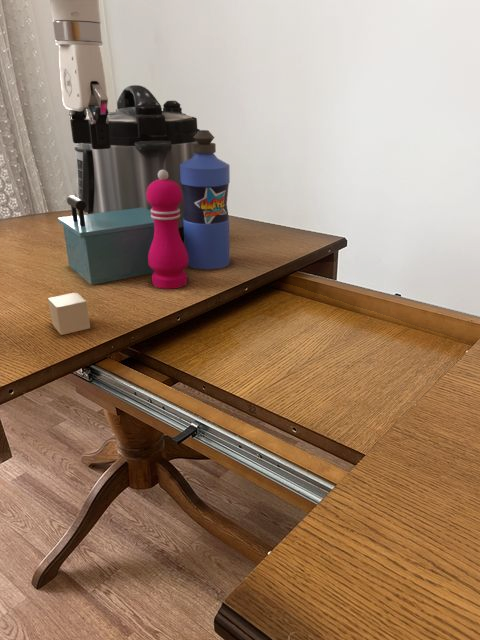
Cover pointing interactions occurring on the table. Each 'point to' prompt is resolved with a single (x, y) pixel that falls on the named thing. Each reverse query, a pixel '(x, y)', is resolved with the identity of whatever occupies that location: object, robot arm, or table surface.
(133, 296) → the table surface
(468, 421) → the table surface
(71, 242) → the bin
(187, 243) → the water bottle
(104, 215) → the bin lid
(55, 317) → the block
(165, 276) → the pepper mill
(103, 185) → the pressure cooker
